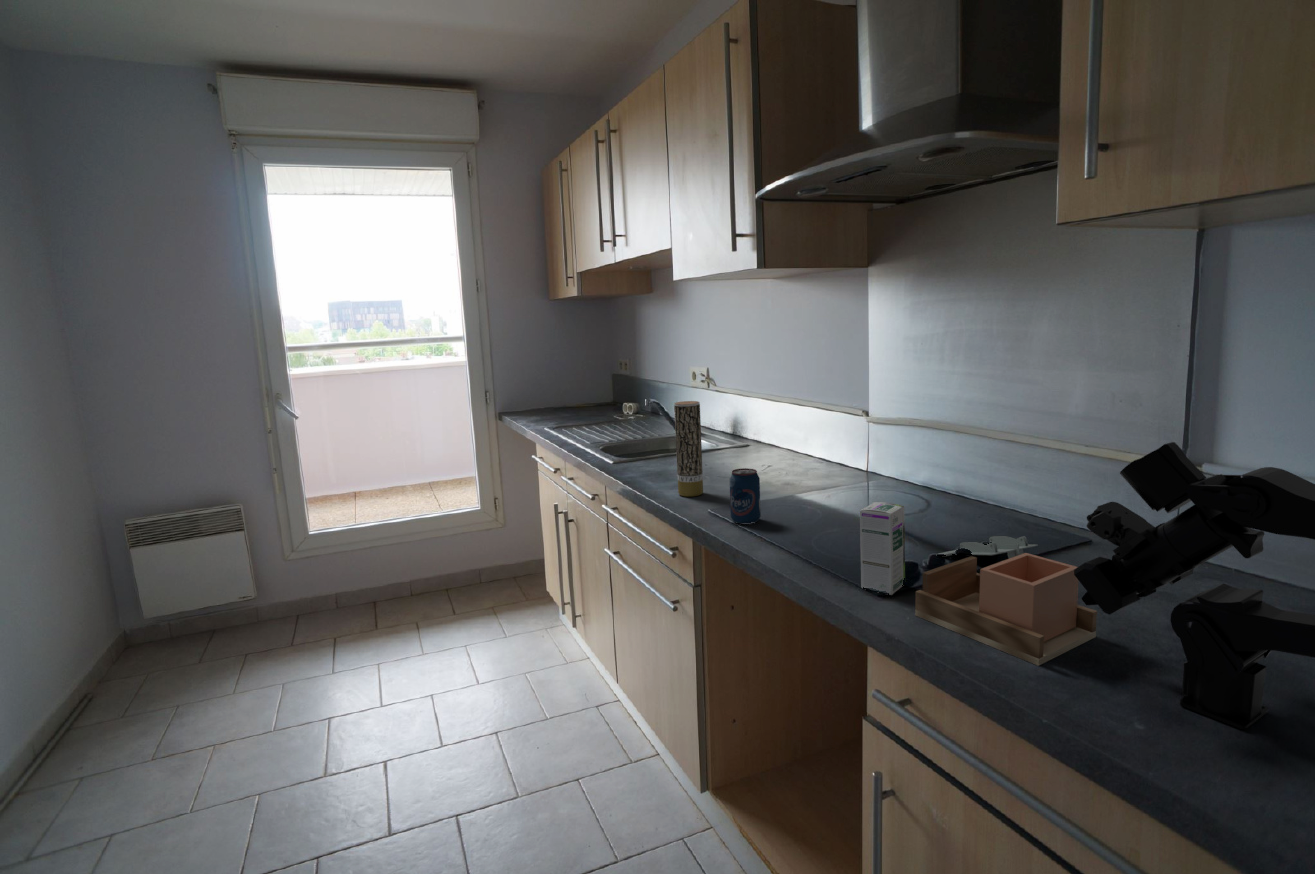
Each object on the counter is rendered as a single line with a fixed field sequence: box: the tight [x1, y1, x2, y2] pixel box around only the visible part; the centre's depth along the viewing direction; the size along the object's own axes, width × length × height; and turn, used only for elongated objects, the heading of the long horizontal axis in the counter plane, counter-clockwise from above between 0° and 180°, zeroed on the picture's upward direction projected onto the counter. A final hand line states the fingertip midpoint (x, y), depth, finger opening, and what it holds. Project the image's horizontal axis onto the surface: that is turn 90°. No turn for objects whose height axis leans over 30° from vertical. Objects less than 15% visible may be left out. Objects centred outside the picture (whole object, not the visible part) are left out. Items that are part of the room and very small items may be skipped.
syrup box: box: [859, 501, 906, 596], centre depth 122 cm, size 6×6×14 cm
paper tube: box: [673, 400, 704, 498], centre depth 190 cm, size 7×7×25 cm
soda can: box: [729, 468, 761, 523], centre depth 165 cm, size 7×7×12 cm
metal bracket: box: [937, 535, 1039, 559], centre depth 134 cm, size 14×6×15 cm
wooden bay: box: [914, 555, 1098, 666], centre depth 106 cm, size 20×14×7 cm
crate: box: [979, 552, 1080, 642], centre depth 103 cm, size 8×11×9 cm
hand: (1085, 601), depth 95 cm, fingers closed
